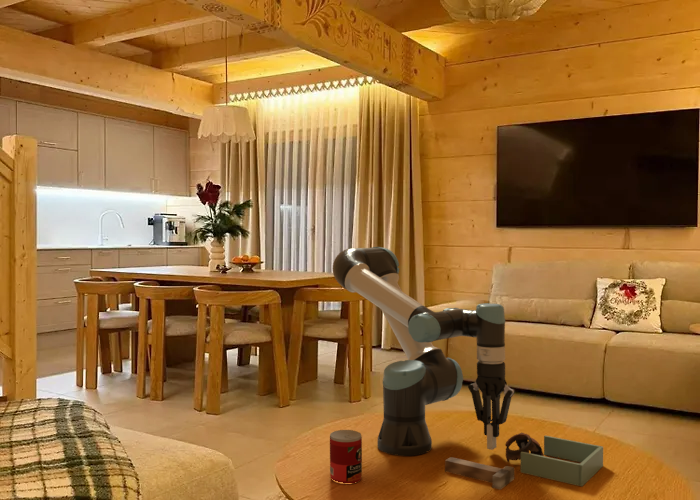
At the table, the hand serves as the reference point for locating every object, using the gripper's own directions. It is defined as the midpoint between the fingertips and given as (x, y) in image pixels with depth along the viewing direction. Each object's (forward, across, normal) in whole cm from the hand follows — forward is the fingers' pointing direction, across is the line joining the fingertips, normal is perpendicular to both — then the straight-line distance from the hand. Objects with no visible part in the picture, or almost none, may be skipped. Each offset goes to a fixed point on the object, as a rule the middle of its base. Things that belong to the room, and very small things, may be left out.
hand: (491, 447), depth 176 cm
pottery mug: (+2, +9, 0) cm, 9 cm away
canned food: (+2, -21, -38) cm, 43 cm away
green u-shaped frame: (+2, +19, 0) cm, 19 cm away
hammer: (+2, +4, -17) cm, 18 cm away
